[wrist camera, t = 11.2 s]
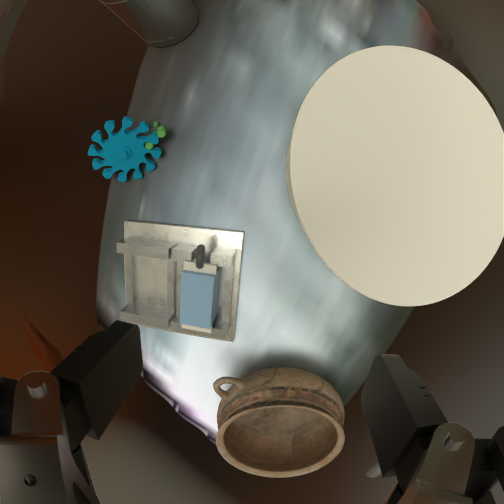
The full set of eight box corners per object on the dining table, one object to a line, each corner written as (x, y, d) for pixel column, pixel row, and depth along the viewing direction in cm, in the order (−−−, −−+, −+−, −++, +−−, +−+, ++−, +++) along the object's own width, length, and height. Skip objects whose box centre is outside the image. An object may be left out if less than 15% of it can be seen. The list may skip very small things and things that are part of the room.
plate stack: (310, 294, 40) (321, 334, 29) (262, 94, 34) (256, 61, 23) (472, 250, 36) (517, 271, 25) (439, 75, 31) (479, 52, 19)
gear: (108, 194, 37) (73, 142, 29) (113, 169, 40) (83, 120, 32) (179, 166, 37) (152, 106, 29) (177, 143, 40) (154, 88, 32)
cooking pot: (366, 399, 44) (383, 449, 32) (285, 447, 48) (285, 495, 36) (272, 310, 41) (270, 358, 29) (188, 375, 45) (166, 425, 33)
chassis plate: (128, 219, 40) (112, 224, 35) (244, 231, 39) (239, 238, 34) (131, 319, 43) (118, 332, 39) (234, 337, 42) (229, 354, 38)
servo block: (194, 235, 38) (183, 243, 33) (224, 239, 38) (216, 248, 33) (189, 314, 41) (179, 330, 36) (216, 319, 41) (209, 336, 36)
